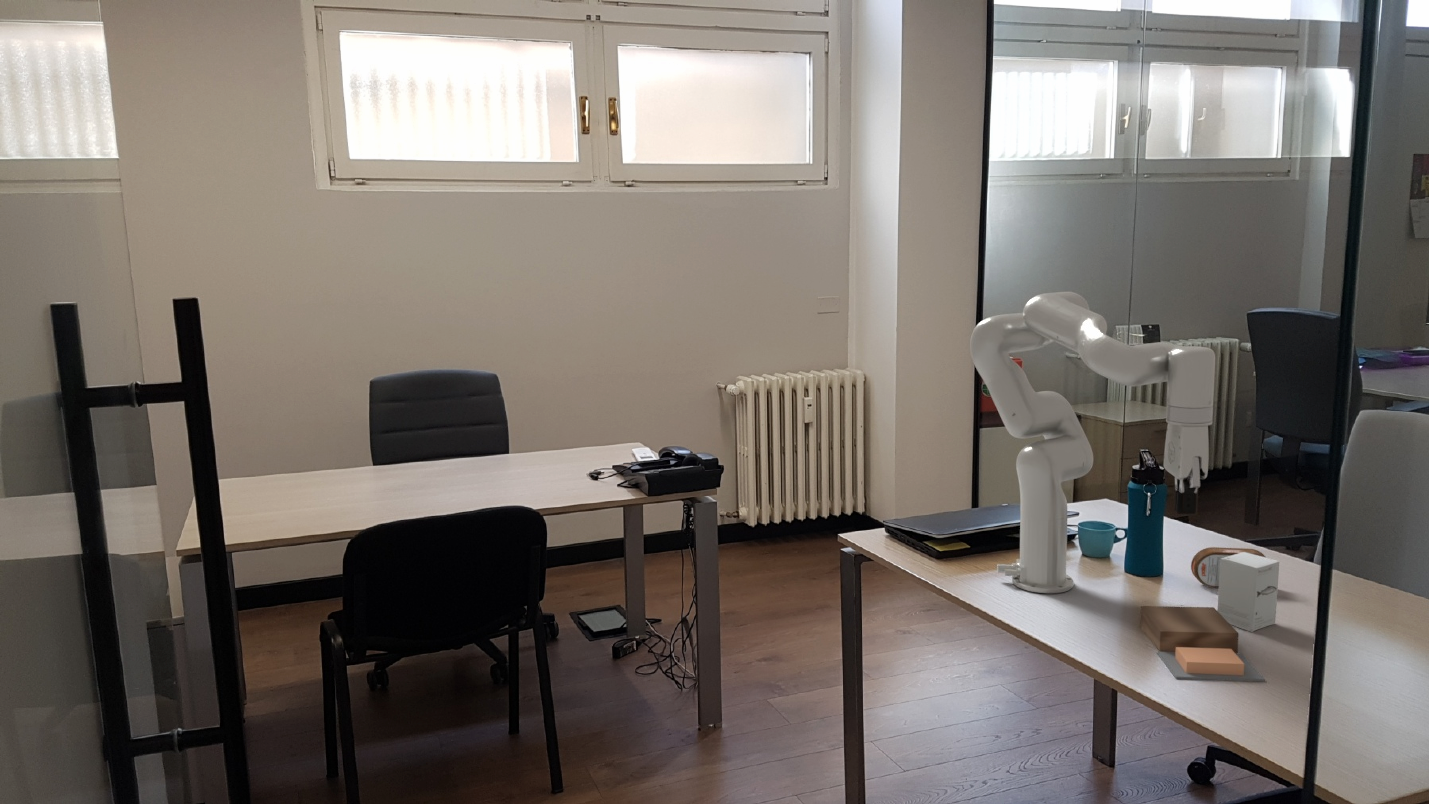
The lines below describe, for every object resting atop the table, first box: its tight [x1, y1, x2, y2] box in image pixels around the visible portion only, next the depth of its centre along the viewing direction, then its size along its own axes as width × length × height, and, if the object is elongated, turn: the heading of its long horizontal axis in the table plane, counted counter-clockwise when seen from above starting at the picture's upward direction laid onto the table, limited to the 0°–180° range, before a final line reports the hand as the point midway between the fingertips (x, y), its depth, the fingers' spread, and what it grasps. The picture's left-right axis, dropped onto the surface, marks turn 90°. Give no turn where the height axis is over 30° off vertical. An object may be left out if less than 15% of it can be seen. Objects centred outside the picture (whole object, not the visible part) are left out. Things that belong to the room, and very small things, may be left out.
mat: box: [1157, 650, 1266, 683], centre depth 162 cm, size 14×10×1 cm
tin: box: [1190, 546, 1267, 589], centre depth 197 cm, size 15×3×8 cm, turn 78°
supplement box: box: [1216, 552, 1280, 633], centre depth 179 cm, size 7×7×13 cm
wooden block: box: [1139, 605, 1239, 654], centre depth 173 cm, size 13×12×4 cm
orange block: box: [1175, 647, 1244, 675], centre depth 161 cm, size 9×6×2 cm, turn 80°
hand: (1184, 512), depth 173 cm, fingers closed
